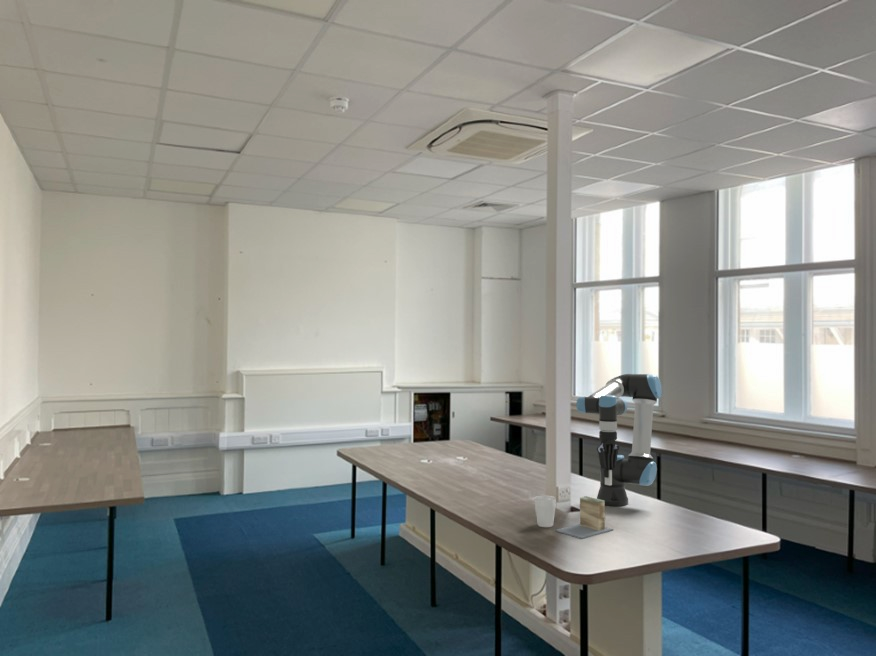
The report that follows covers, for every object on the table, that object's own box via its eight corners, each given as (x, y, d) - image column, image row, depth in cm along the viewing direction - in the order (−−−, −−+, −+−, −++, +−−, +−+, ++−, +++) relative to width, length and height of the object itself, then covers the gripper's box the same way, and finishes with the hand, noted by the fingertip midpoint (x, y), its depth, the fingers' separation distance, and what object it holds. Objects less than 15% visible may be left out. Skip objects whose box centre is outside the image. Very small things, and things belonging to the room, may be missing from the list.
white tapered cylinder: (556, 523, 291) (556, 495, 291) (554, 528, 282) (554, 500, 283) (536, 521, 293) (536, 494, 294) (533, 527, 285) (533, 499, 285)
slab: (586, 523, 288) (586, 496, 288) (604, 529, 280) (604, 500, 280) (580, 525, 285) (579, 497, 285) (598, 530, 277) (598, 501, 277)
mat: (587, 523, 291) (587, 521, 291) (613, 530, 280) (613, 528, 280) (556, 531, 279) (555, 529, 279) (581, 538, 268) (581, 537, 268)
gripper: (610, 428, 297) (610, 481, 296) (591, 430, 289) (591, 485, 288) (624, 430, 291) (624, 484, 290) (605, 432, 283) (605, 488, 282)
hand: (608, 484), depth 289 cm, fingers closed
